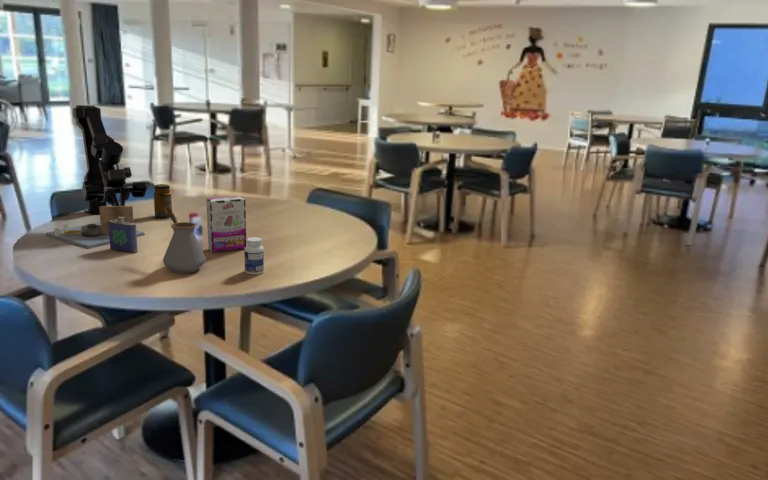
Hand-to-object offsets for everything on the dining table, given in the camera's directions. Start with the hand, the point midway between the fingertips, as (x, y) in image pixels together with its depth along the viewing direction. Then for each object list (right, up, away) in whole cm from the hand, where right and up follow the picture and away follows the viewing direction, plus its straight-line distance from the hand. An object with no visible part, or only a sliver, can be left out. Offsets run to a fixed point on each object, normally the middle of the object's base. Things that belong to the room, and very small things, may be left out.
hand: (121, 212), depth 189 cm
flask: (+6, -12, -13) cm, 19 cm away
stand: (-9, -7, +1) cm, 11 cm away
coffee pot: (+26, -16, -21) cm, 37 cm away
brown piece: (-7, -7, -1) cm, 10 cm away
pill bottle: (+49, -18, -24) cm, 57 cm away
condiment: (+3, -1, +27) cm, 28 cm away
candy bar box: (+36, -12, -5) cm, 38 cm away
